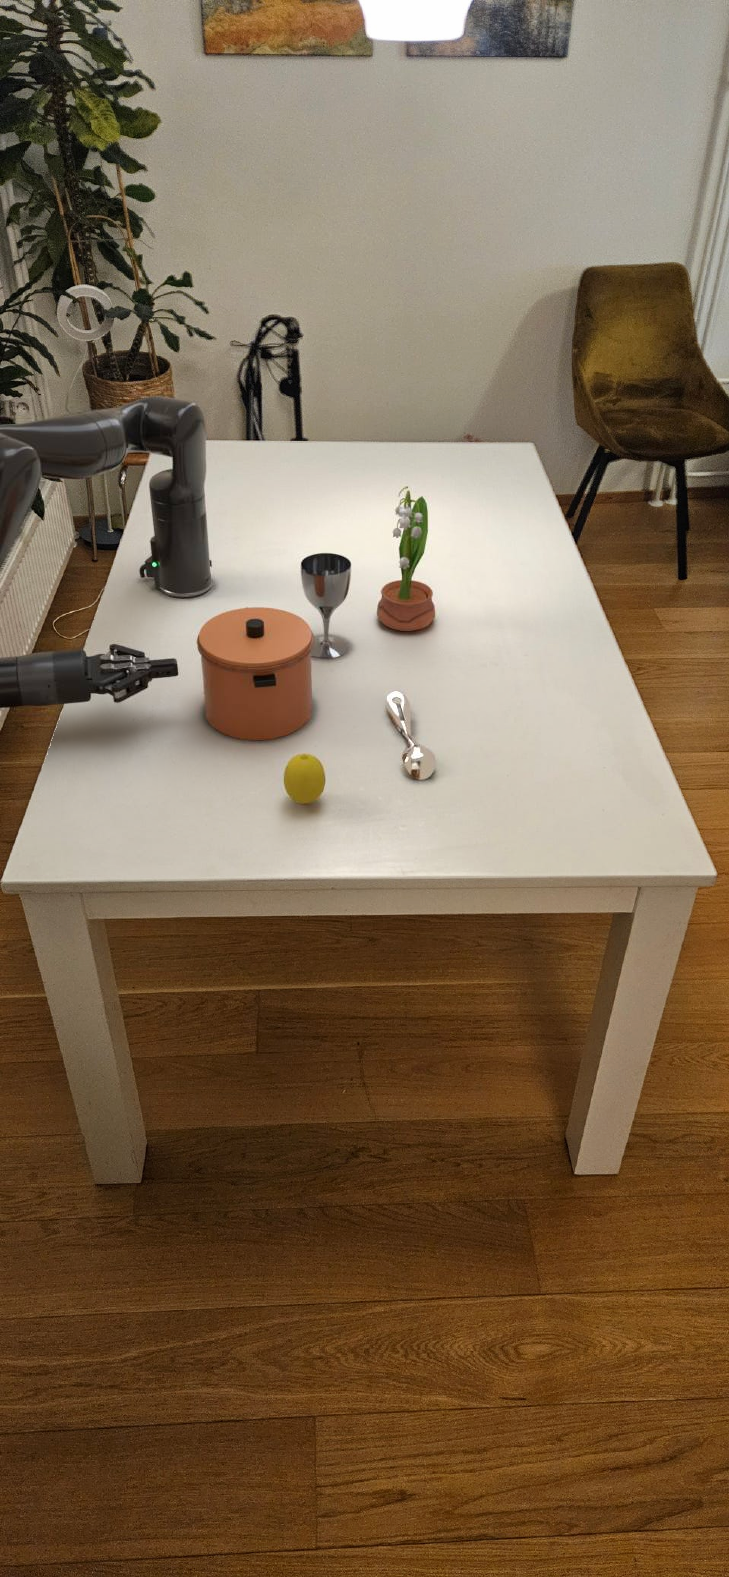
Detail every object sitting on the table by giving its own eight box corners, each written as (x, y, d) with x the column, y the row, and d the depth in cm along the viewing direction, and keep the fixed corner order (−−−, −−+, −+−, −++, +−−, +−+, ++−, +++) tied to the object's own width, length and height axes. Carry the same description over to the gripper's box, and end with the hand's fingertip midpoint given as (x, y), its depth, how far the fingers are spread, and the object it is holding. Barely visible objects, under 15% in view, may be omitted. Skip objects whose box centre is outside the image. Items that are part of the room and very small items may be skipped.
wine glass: (356, 640, 183) (358, 557, 174) (340, 663, 177) (341, 579, 168) (312, 632, 185) (311, 549, 176) (294, 654, 179) (292, 570, 170)
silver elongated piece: (380, 682, 165) (411, 679, 166) (379, 701, 168) (409, 698, 168) (406, 766, 151) (440, 763, 151) (405, 786, 153) (438, 783, 154)
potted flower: (428, 644, 182) (437, 501, 167) (369, 637, 184) (372, 495, 169) (438, 611, 192) (448, 472, 176) (382, 604, 193) (386, 466, 178)
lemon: (283, 791, 150) (282, 743, 145) (324, 789, 150) (324, 742, 146) (285, 816, 146) (283, 768, 141) (326, 814, 146) (326, 766, 141)
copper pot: (209, 752, 157) (202, 662, 148) (197, 682, 172) (189, 597, 163) (325, 739, 160) (324, 650, 151) (303, 672, 175) (301, 587, 166)
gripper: (49, 679, 148) (179, 668, 151) (50, 632, 158) (171, 622, 161) (57, 726, 152) (183, 713, 155) (58, 676, 163) (176, 666, 166)
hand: (177, 667), depth 158 cm, fingers closed
